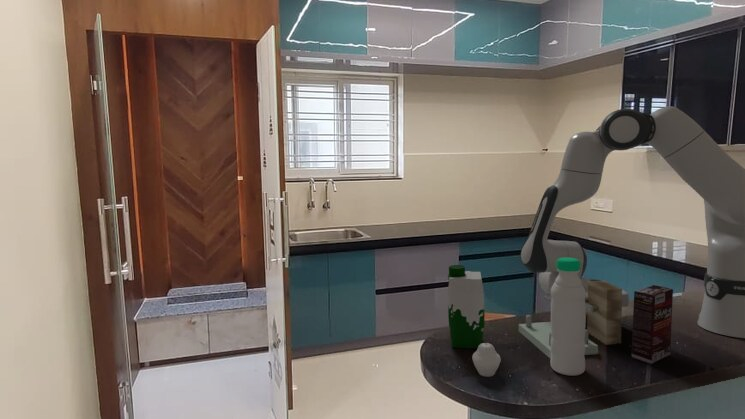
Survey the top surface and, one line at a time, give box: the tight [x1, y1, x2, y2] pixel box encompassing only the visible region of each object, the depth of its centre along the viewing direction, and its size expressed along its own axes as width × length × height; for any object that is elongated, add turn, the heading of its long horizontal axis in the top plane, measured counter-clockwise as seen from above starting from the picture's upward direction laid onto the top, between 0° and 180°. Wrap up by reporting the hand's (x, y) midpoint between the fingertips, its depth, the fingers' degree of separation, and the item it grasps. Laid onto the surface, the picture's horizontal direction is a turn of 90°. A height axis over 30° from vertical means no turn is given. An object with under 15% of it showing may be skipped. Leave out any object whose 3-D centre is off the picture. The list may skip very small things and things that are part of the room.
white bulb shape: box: [471, 342, 502, 378], centre depth 100 cm, size 6×6×7 cm
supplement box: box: [631, 284, 674, 365], centre depth 104 cm, size 9×5×16 cm, turn 122°
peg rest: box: [518, 314, 599, 359], centre depth 115 cm, size 12×17×5 cm
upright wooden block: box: [586, 279, 623, 346], centre depth 116 cm, size 4×8×14 cm, turn 6°
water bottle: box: [549, 257, 587, 377], centre depth 99 cm, size 7×7×25 cm
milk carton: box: [447, 264, 485, 350], centre depth 116 cm, size 9×9×20 cm
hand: (606, 308), depth 115 cm, fingers open, 5 cm apart
